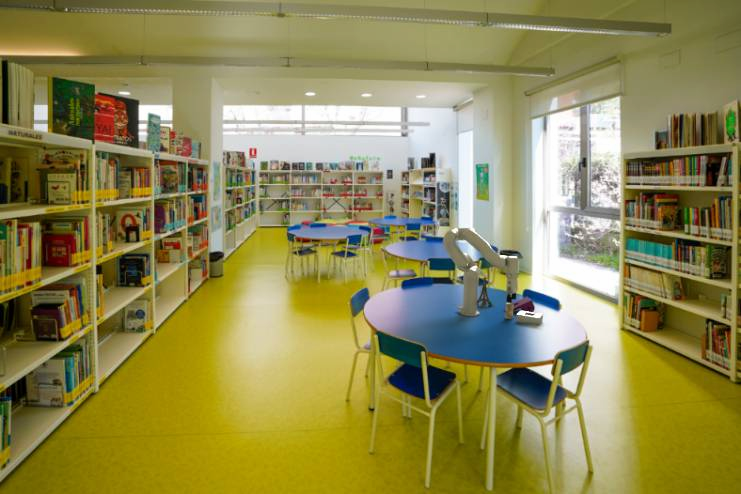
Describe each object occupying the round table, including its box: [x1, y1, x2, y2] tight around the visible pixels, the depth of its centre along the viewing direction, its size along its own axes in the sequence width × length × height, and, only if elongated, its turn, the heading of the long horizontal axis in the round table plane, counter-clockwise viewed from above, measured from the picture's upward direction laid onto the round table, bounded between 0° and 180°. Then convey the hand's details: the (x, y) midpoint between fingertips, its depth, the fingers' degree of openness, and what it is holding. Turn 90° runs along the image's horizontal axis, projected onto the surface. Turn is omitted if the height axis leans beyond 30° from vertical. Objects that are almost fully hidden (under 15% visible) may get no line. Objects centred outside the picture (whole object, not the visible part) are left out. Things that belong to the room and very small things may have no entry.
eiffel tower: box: [477, 276, 495, 309], centre depth 321 cm, size 11×11×25 cm
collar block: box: [515, 310, 544, 326], centre depth 286 cm, size 14×10×5 cm
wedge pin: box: [504, 302, 514, 320], centre depth 293 cm, size 4×4×10 cm
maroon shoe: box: [504, 296, 536, 313], centre depth 309 cm, size 9×8×18 cm
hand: (511, 300), depth 292 cm, fingers open, 9 cm apart
